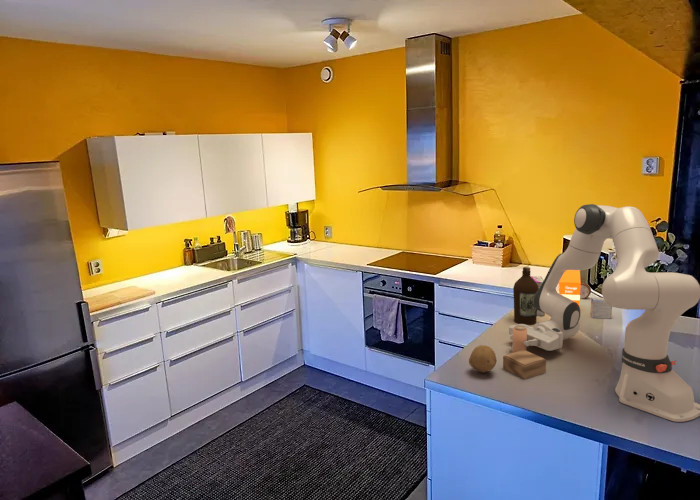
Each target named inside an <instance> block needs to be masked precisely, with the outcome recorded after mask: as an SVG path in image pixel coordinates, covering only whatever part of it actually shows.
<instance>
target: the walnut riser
mask: <svg viewBox="0 0 700 500" xmlns="http://www.w3.org/2000/svg"><path fill="white" fill-rule="evenodd" d="M502 369H504V370H505V371H507V372H510V373H511V374H513V375H515V376H517V377H519V378H521V379H523V380H527V379H529V378H532V377H536V376H539V375H541V374H545V373H546V372H547V359H545V358H544V357H542V356H539V355H537V354H535V353H533V352H530V351H528V350H527V349H526V350H521V351H518V352H515V353H512V352H510V353H508V354H505V355H503V358H502Z"/></svg>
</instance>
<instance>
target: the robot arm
mask: <svg viewBox="0 0 700 500" xmlns="http://www.w3.org/2000/svg"><path fill="white" fill-rule="evenodd" d="M573 223H574V227H575V229H574V231H573V234H572V235H571V238H570V240H569V243H568V247H567V248H566V250H564V252H561V253H559V254H558V255H557V256H556V258H554V260H553V262H552V264H551V265H550V268H549V269H548V271H547V274H546V275H545V277H544V279H543V280H544V281H543V283H542V285H541V287H540V288H539V289H538V291H537V292H536V294H535V295H534V299H533V301H534V306H535V308H536V309H537V310H539V311H541V312H543V313H545V314H546V315H547V316H549V317H550V319H549V320H545V321H540V322H536V323H535V324H533V326H532V325H525V324H518V323H516V324H513V325H509V327H508V335H509V340H512V341H513V328H514V327H515V326H517V325H521V326H524V327H525V328H526V329H527V340H524V341H523V345H525V346H527V347H529V346H531V347H533V346H535V347H538V348H540V349H543V350H545V351H548V352H550V351H556V350H557V349H562V348H563V345H564V344H563V343H564V340H568V339H570V338H572V337H574V336H575V335H577V334H578V333H579V331H580V329H581V328H580V318H581V308H580V304H579V305H578V304H577V303H576V302H574V301H572V300H571V299H569V298H567V297H565V296H563V295H561V294H559V293H558V290H557V288H558V283H559V281H560V279H561V277H562V275H563V274H564V272H566V271H567V270H580V271H586V270H589V269H591V268H593V267H595V266H596V264H597V262H598V261H599V259H600V256H601V252H602V250H603V246H604V244H605V243H604V242H605V241H606V240H608V239H611V240H612V242H613V246H614V249H615V255H616V260H617V264H616V267H615V270H614V271H613V272H612V273H611V274H610V275H608V276H606V278H605V279H604V282H603V283H602V286H601V295H602V298H604V300H605V301H606V303H607V304H608V305H610V306H611V307H612V308H616V309H617V308H618V309H621V310H623V309H624V310H627V311H628V310H634V311H635V310H639V311H640V310H642V311H643V310H644V312H643V313H642V314H640V315H639V316H638V317H636V318H634V319H632V320H631V321H629V322H628V323H627V325H626V326H625V329H624V330H625V332H624V343H623V345H624V346H623V348H622V351H621V369H620V375H619V379H618V381H617V384H616V385H615V388H614V391H615V394H616V395H617V396H618V398H619V399H618V400H619V402H620V403H621V404H624V405H627V406H630V407H632V408H634V409H637V410H640V411H643V412H645V413H650V414H652V415H655V416H657V417H660V418H662V419H666V420H669V421H672V422H678V423H679V422H680V423H681V422H689V421H692V420H694V419H697V418H698V417H700V404H699V403H697V402H695V398H694V396H695V395H694V391H693V389H692V387H691V386H690V385H689V384H688V383H687V382H685V380H684V379H683V378H682V377H681V376H680V375H678V374H677V372H676V371H674V369H673V366H674V365H676V364H677V363H676V362H677V360H672V361H671V360H670V357H669V355H668V347H669V340H670V334H671V331H672V329H673V327H674V325H675V323H676V322H677V320H678V319H679V318H680V317H681V316H682V315H683V314H684V313H685V312H686V311H688V310H689V309H691V308H693V307H695V306H696V305H697V304H698V302H699V300H700V283H699V282H698V280H697V279H696V278H695V277H694V276H693V275H690V274H685V273H679V272H671V271H668V272H666V271H665V272H650V271H649V272H648V271H646V268H647V267H649V266H651V265H653V264H654V263H655V262H656V260H657V259H658V256H659V249H658V245H657V242H656V240H655V237H654V235H653V232H652V228H651V227H650V224H649V222H648V220H647V219H646V218H645V215H644V214H643V212H642V211H641V210H640V209H638V208H637V207H634V206H629V205H628V206H622V207H615V206H613V205H611V206H610V205H600V204H599V205H598V204H594V203H590V204H587V203H586V204H583V205H581V206H580V207H579V208H578V209H577V211H576V212H575V214H574V219H573Z"/></svg>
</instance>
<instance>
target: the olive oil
mask: <svg viewBox="0 0 700 500" xmlns="http://www.w3.org/2000/svg"><path fill="white" fill-rule="evenodd" d="M521 273H522V274H521V277H520V278H518V279H517V280H516V281H515V283H514V284H513V288H512V289H513V290H512V291H513V321H514V323H516V324H525V325H528V326H532V325H533V326H534V325H535V324H537V317H538V316H537V309H536V308H535V306H534V301H533V299H534V295H535V294H536V292H537V291H538V289H539V288H538V285H537V283H536V282H535V281H534V280H533V279H532V278H531V276H532V275H531V267H529V266H523V267H522V271H521Z"/></svg>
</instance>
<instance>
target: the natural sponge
mask: <svg viewBox="0 0 700 500" xmlns="http://www.w3.org/2000/svg"><path fill="white" fill-rule="evenodd" d="M468 363H469V366H470V367H471V368H473V369H475V370H476V371H478V372H479V373H482V374H485V373H487V372H489V371H491V370H493V369H494V368H495V366H496V365H497V355H496V353H495V351H494V350H493V349H492V347H490V346H488V345H484V344H479V345H478V346H476V347H475V348H474V349H473V350H472V351H471V353H470V356H469V359H468Z"/></svg>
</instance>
